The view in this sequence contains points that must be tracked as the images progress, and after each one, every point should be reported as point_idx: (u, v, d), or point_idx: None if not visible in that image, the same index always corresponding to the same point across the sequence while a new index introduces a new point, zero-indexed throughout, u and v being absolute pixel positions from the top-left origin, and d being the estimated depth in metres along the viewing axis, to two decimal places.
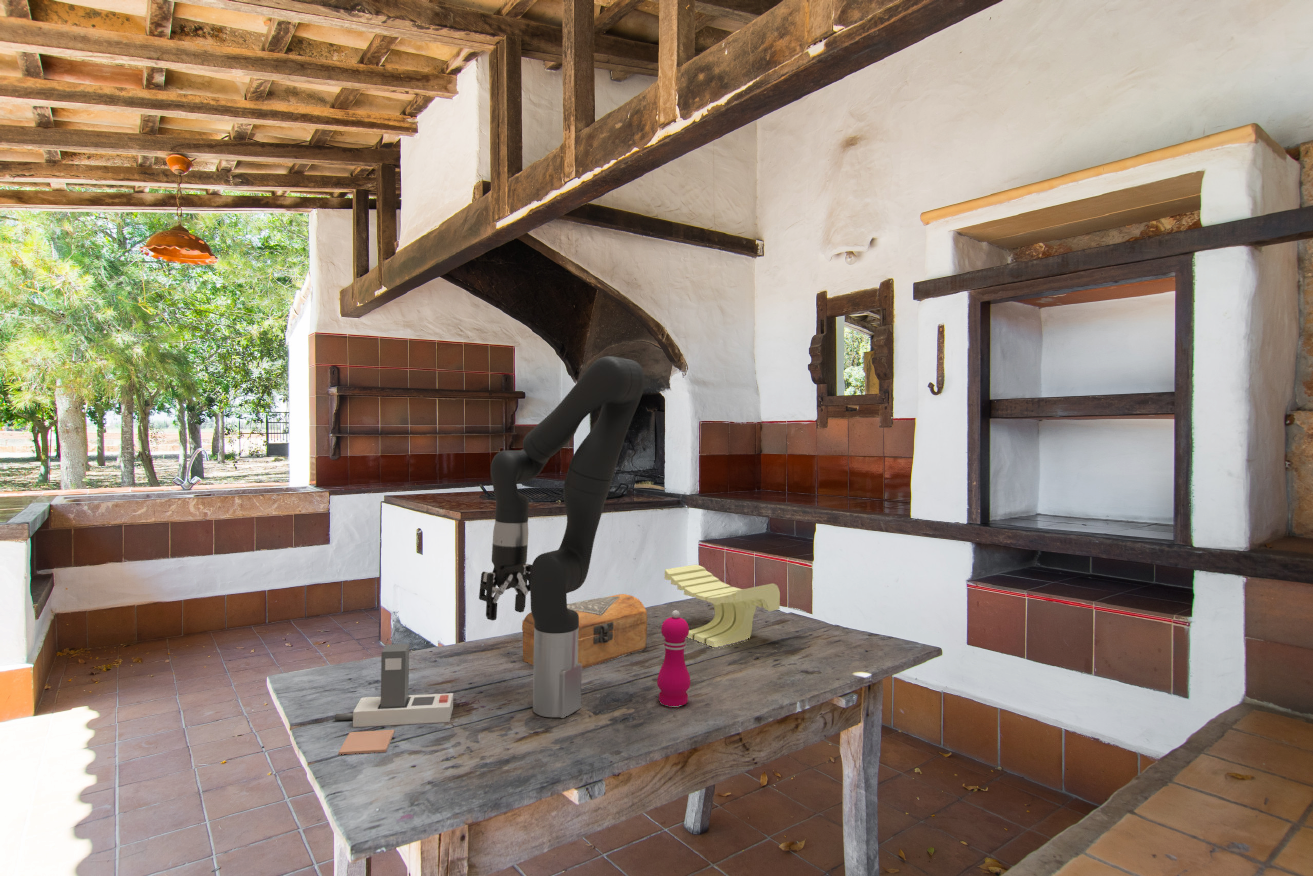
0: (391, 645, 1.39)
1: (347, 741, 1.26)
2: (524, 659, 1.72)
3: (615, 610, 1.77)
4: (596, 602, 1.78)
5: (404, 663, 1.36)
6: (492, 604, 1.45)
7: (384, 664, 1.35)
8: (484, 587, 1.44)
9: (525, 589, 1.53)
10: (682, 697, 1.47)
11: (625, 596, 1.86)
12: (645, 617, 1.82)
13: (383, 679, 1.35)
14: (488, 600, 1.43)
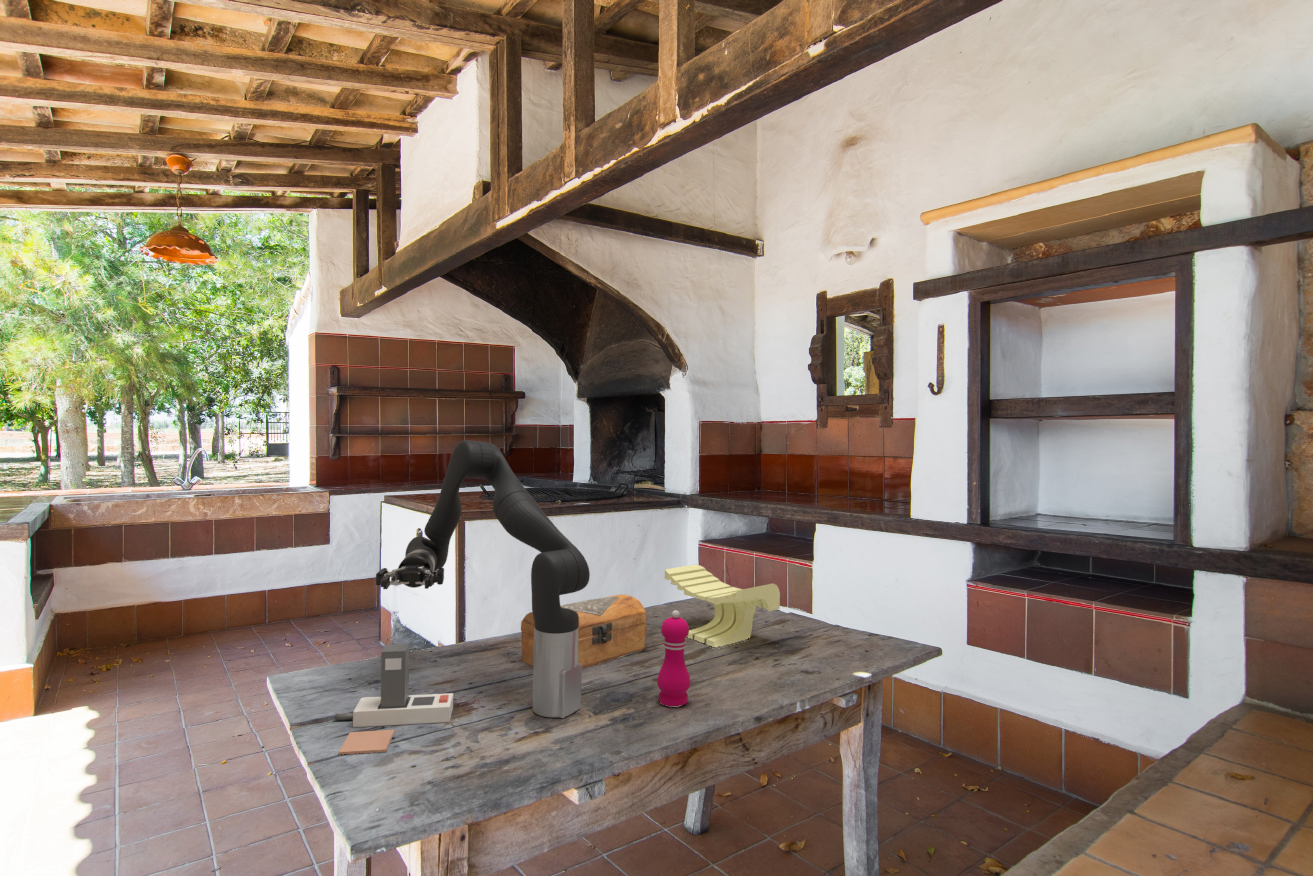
0: (391, 645, 1.39)
1: (347, 741, 1.26)
2: (523, 659, 1.72)
3: (614, 611, 1.76)
4: (595, 602, 1.78)
5: (404, 663, 1.36)
6: (385, 577, 1.51)
7: (384, 664, 1.35)
8: None
9: (430, 573, 1.54)
10: (682, 697, 1.47)
11: (624, 596, 1.85)
12: (645, 618, 1.82)
13: (383, 679, 1.35)
14: (377, 573, 1.51)
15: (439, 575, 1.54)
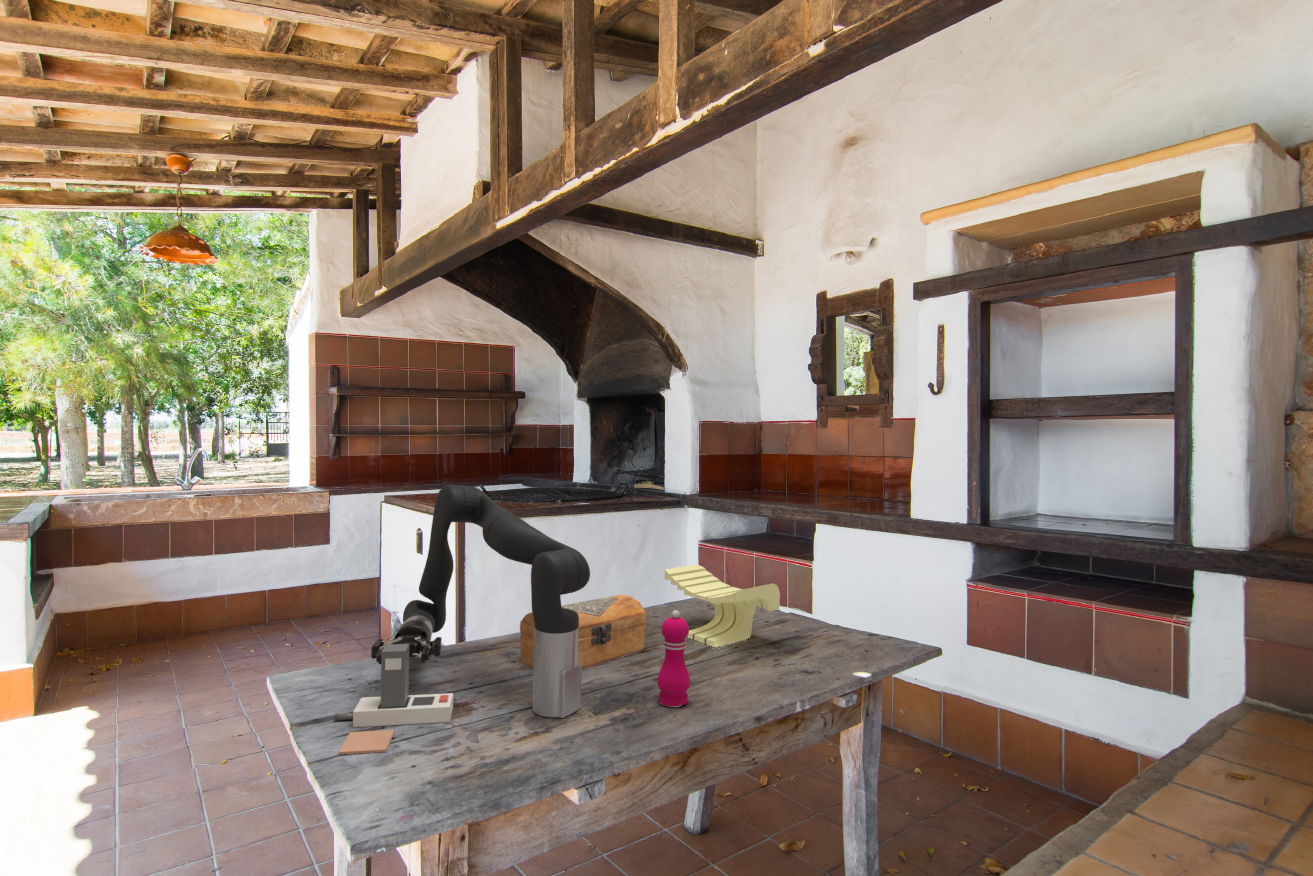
0: (391, 645, 1.39)
1: (347, 741, 1.26)
2: (522, 660, 1.71)
3: (613, 612, 1.76)
4: (594, 603, 1.77)
5: (404, 663, 1.36)
6: (381, 650, 1.47)
7: (384, 664, 1.35)
8: None
9: (427, 644, 1.50)
10: (682, 697, 1.47)
11: (624, 597, 1.85)
12: (644, 618, 1.81)
13: (383, 679, 1.35)
14: (373, 647, 1.48)
15: (436, 647, 1.50)
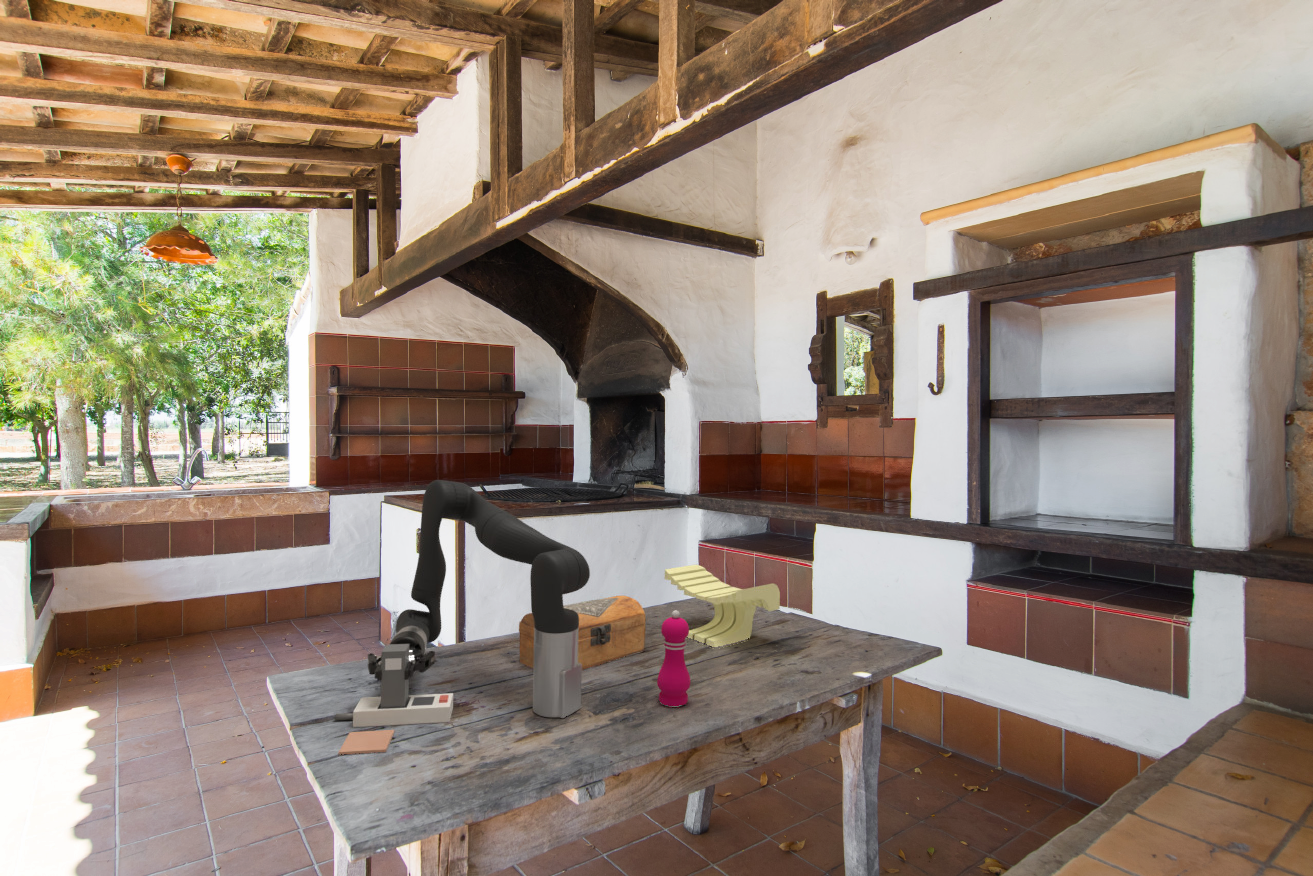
0: (391, 645, 1.39)
1: (347, 741, 1.26)
2: (521, 661, 1.71)
3: (613, 612, 1.75)
4: (594, 604, 1.77)
5: (404, 663, 1.36)
6: (379, 666, 1.38)
7: (384, 664, 1.35)
8: (368, 663, 1.41)
9: (411, 660, 1.40)
10: (682, 697, 1.47)
11: (623, 598, 1.84)
12: (644, 619, 1.81)
13: (383, 679, 1.35)
14: (371, 662, 1.39)
15: (420, 662, 1.40)
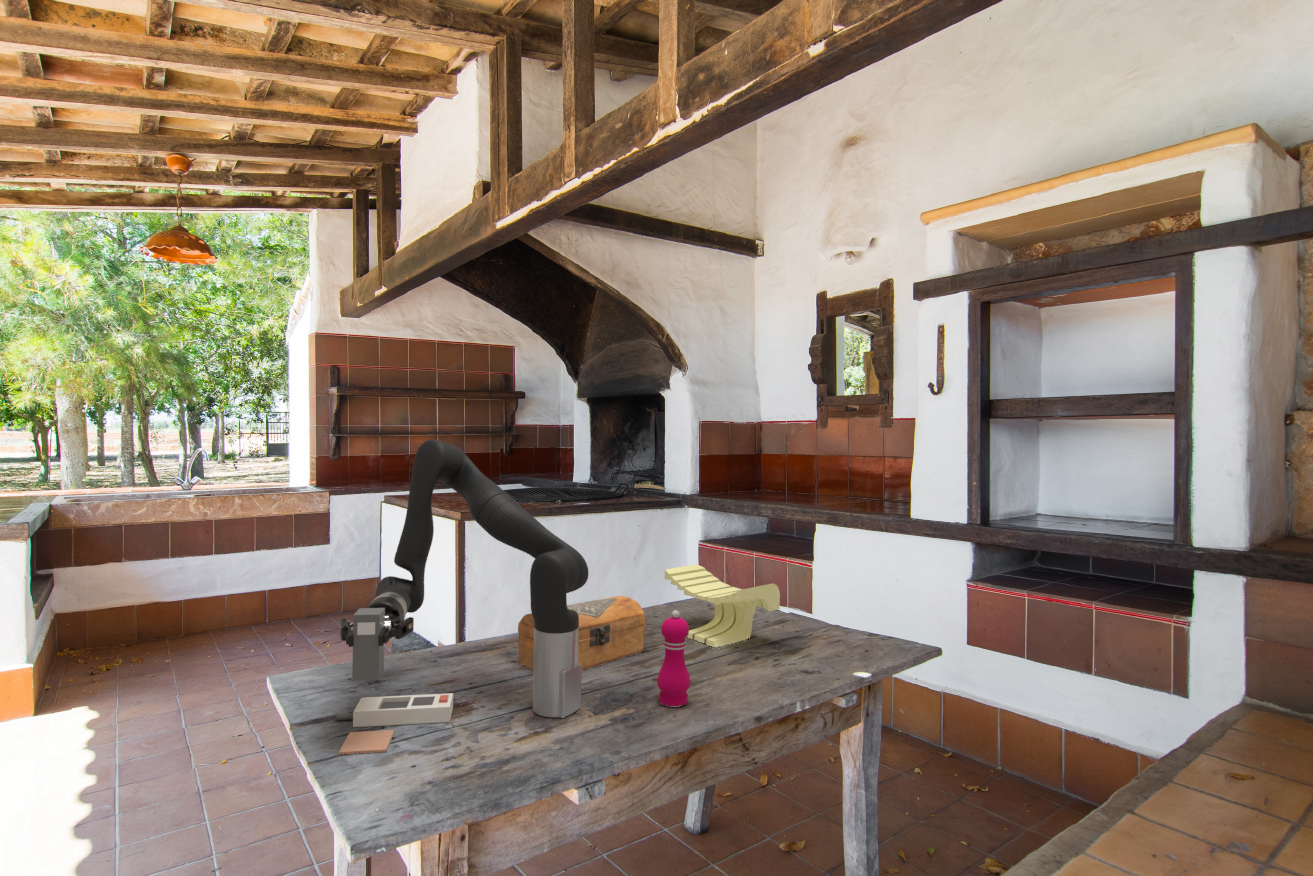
0: (365, 609, 1.27)
1: (347, 741, 1.26)
2: (520, 661, 1.70)
3: (612, 613, 1.75)
4: (593, 604, 1.76)
5: (378, 628, 1.24)
6: (352, 631, 1.27)
7: (356, 628, 1.24)
8: None
9: (387, 625, 1.29)
10: (682, 697, 1.47)
11: (623, 598, 1.84)
12: (643, 619, 1.80)
13: (355, 645, 1.24)
14: (343, 627, 1.27)
15: (396, 628, 1.29)
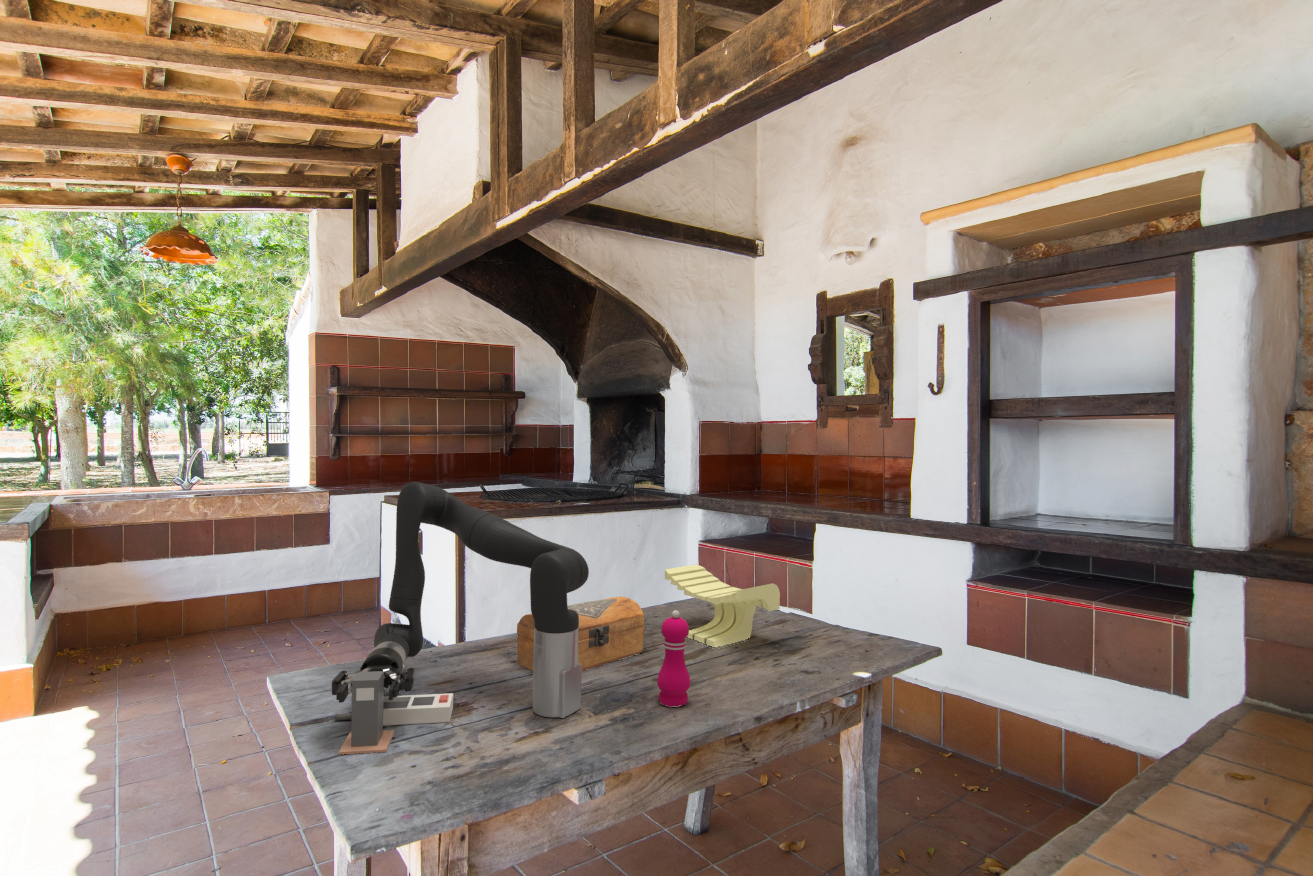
0: (364, 673, 1.28)
1: (347, 741, 1.26)
2: (519, 662, 1.70)
3: (611, 613, 1.74)
4: (592, 605, 1.76)
5: (377, 693, 1.25)
6: (342, 686, 1.27)
7: (355, 694, 1.24)
8: None
9: (397, 678, 1.30)
10: (682, 697, 1.47)
11: (622, 599, 1.83)
12: (643, 620, 1.79)
13: (354, 710, 1.24)
14: (333, 681, 1.28)
15: (407, 681, 1.30)
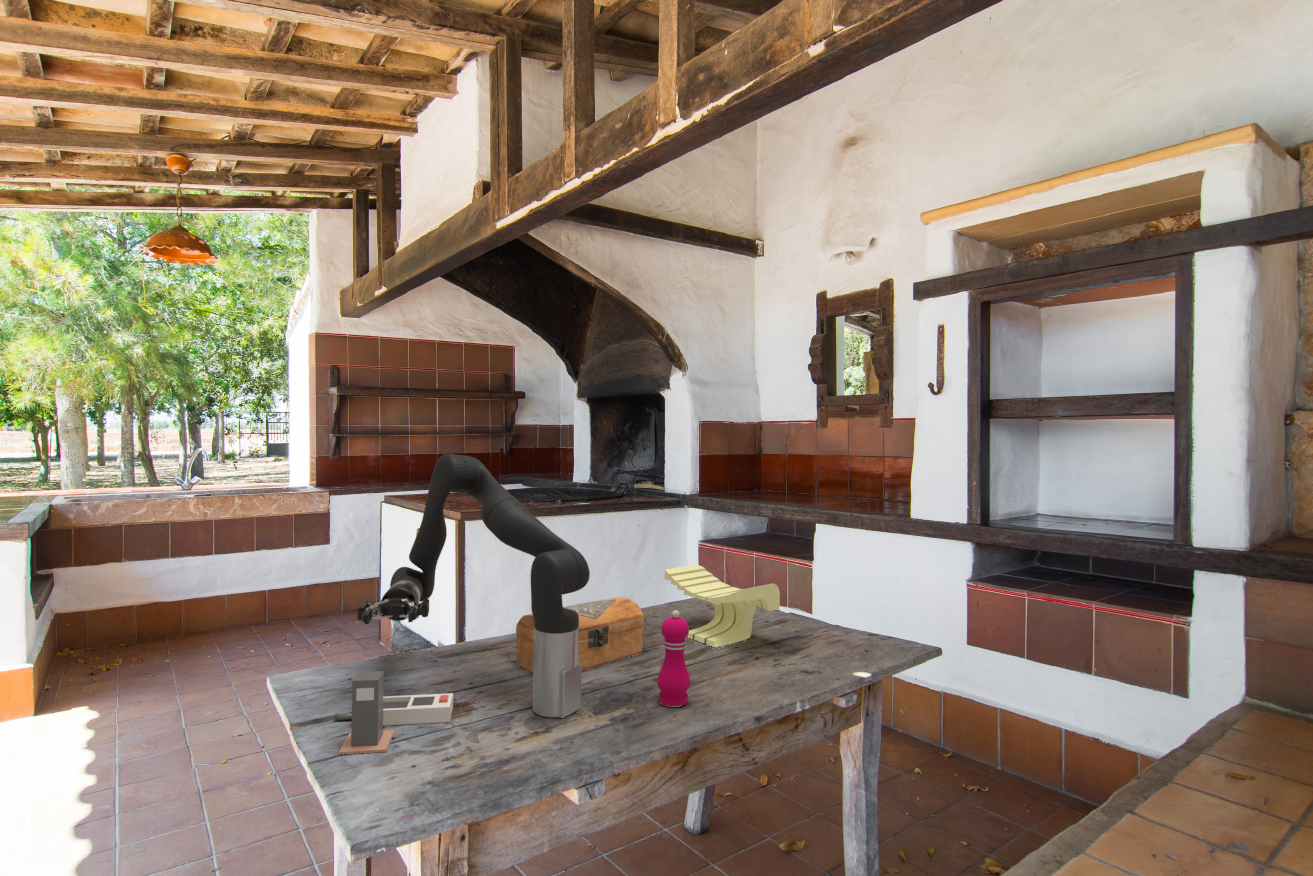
0: (364, 673, 1.28)
1: (347, 741, 1.26)
2: (518, 663, 1.69)
3: (611, 614, 1.73)
4: (591, 605, 1.75)
5: (377, 693, 1.25)
6: (367, 611, 1.44)
7: (355, 694, 1.24)
8: None
9: (415, 605, 1.47)
10: (682, 697, 1.47)
11: (622, 599, 1.82)
12: (642, 621, 1.79)
13: (354, 710, 1.24)
14: (359, 608, 1.45)
15: (424, 607, 1.47)
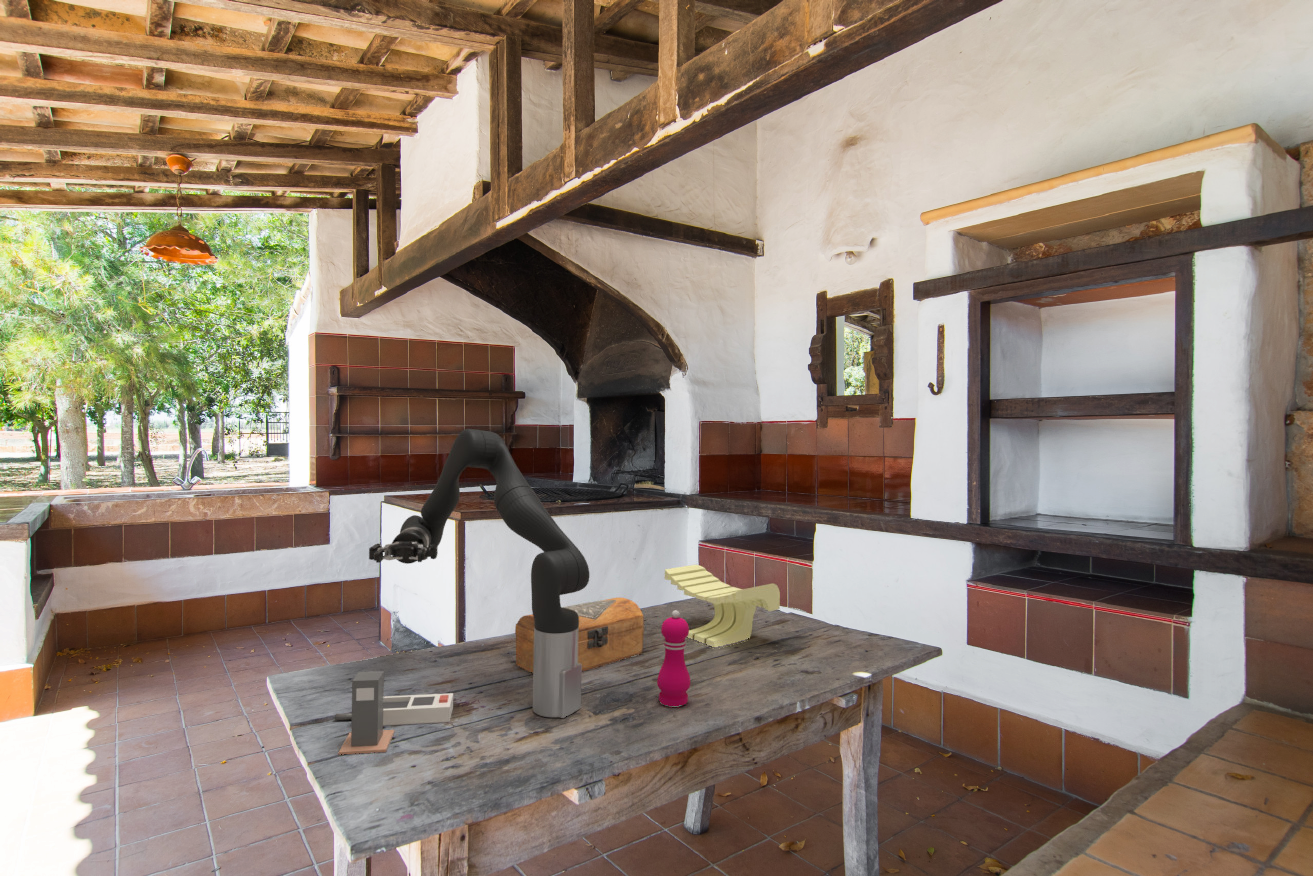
0: (364, 673, 1.28)
1: (347, 741, 1.26)
2: (517, 663, 1.69)
3: (610, 614, 1.73)
4: (591, 606, 1.75)
5: (377, 693, 1.25)
6: None
7: (355, 694, 1.24)
8: None
9: (424, 547, 1.54)
10: (682, 697, 1.47)
11: (621, 600, 1.82)
12: (642, 621, 1.78)
13: (354, 710, 1.24)
14: (370, 548, 1.51)
15: (432, 549, 1.54)
